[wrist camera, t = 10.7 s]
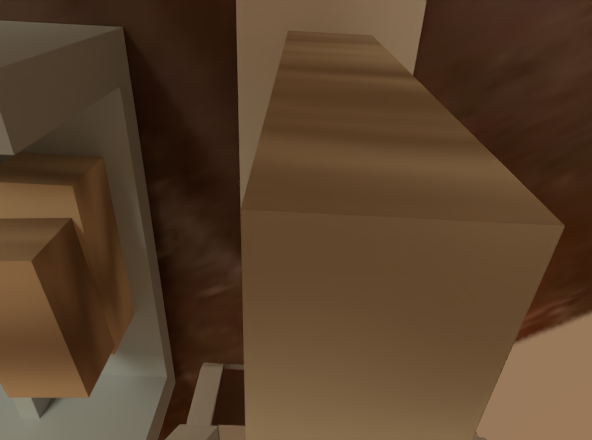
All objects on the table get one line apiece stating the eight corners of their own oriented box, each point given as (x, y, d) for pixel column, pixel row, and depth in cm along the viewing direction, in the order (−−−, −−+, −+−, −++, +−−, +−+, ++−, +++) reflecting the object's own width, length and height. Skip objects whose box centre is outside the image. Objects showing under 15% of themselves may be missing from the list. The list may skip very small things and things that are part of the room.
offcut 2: (-16, 218, 16) (-70, 261, 14) (71, 217, 16) (31, 260, 14) (43, 345, 20) (8, 397, 18) (114, 345, 20) (88, 397, 18)
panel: (287, 30, 15) (240, 210, 4) (372, 35, 15) (565, 226, 4) (278, 320, 22) (251, 678, 11) (335, 323, 22) (365, 682, 11)
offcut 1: (18, 152, 18) (-26, 180, 16) (103, 156, 18) (72, 185, 16) (67, 310, 23) (38, 351, 20) (134, 313, 23) (114, 354, 20)
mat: (237, -11, 16) (235, -10, 15) (424, 0, 16) (426, 0, 16) (243, 310, 24) (243, 315, 24) (366, 316, 24) (367, 321, 24)
